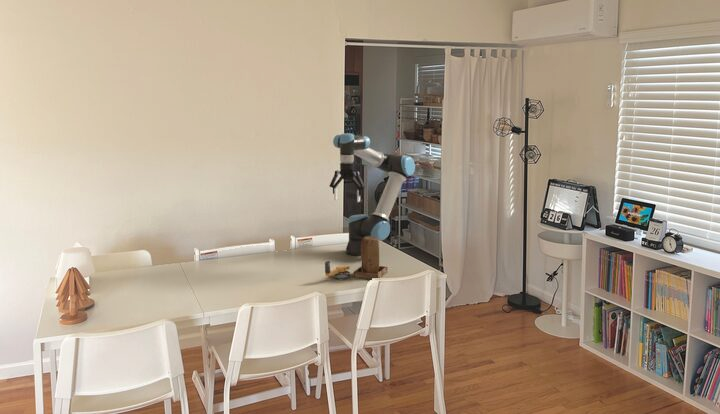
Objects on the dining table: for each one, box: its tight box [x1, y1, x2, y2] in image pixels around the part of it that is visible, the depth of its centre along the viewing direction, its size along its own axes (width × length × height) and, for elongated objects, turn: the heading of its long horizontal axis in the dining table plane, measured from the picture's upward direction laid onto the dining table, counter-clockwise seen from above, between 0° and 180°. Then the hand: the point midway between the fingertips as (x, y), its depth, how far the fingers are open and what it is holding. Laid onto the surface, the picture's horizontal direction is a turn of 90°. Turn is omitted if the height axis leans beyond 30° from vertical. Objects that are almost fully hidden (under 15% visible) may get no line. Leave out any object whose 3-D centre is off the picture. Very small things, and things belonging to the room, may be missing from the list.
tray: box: [352, 265, 388, 280], centre depth 330 cm, size 15×14×3 cm
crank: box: [324, 260, 351, 277], centre depth 324 cm, size 17×5×8 cm, turn 140°
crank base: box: [330, 270, 351, 280], centre depth 327 cm, size 10×10×3 cm
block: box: [360, 236, 380, 274], centre depth 329 cm, size 11×8×20 cm
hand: (347, 200), depth 341 cm, fingers open, 13 cm apart
